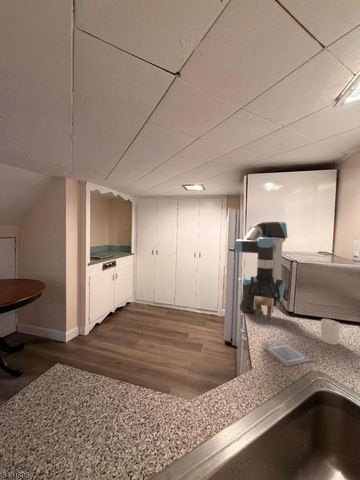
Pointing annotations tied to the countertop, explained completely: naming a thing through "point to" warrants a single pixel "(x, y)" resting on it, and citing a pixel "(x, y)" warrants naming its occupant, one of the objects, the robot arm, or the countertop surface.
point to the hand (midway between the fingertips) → (263, 310)
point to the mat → (287, 354)
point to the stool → (264, 302)
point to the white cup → (330, 331)
